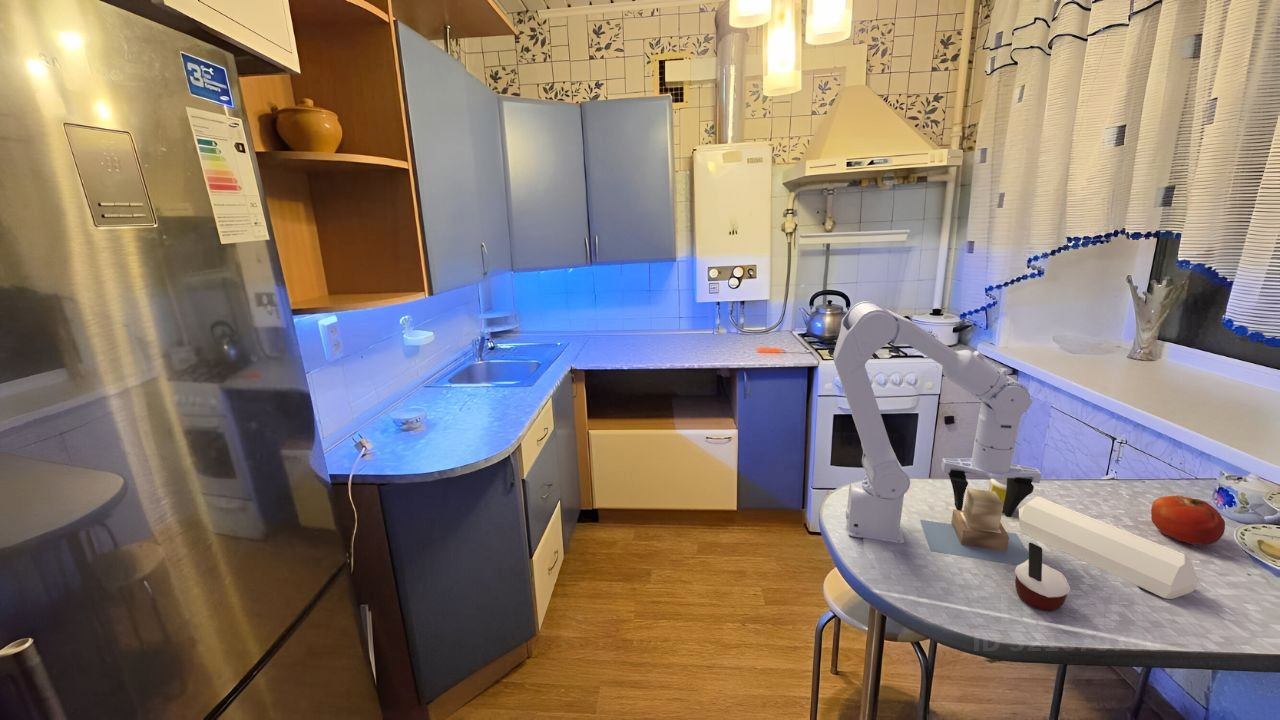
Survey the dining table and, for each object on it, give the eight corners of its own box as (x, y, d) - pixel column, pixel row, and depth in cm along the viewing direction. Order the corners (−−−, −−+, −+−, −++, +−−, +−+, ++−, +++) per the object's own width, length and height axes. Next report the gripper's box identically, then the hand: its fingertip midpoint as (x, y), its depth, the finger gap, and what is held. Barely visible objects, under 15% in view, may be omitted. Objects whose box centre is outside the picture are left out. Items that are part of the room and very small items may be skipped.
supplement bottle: (1018, 517, 98) (1026, 479, 96) (992, 515, 99) (999, 477, 97) (1006, 504, 102) (1013, 467, 100) (981, 502, 103) (987, 466, 101)
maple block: (969, 527, 90) (974, 500, 88) (963, 514, 94) (967, 488, 92) (998, 531, 88) (1003, 504, 87) (990, 517, 92) (995, 491, 91)
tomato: (1140, 516, 97) (1150, 480, 95) (1208, 531, 92) (1220, 493, 90) (1152, 542, 90) (1163, 503, 87) (1227, 559, 85) (1241, 519, 82)
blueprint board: (930, 553, 88) (930, 550, 88) (919, 521, 98) (919, 519, 97) (1037, 570, 83) (1038, 568, 83) (1015, 535, 92) (1016, 533, 92)
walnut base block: (960, 544, 90) (963, 529, 89) (951, 522, 96) (953, 508, 95) (1006, 551, 88) (1009, 536, 87) (993, 528, 94) (996, 514, 93)
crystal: (1212, 567, 78) (1035, 497, 98) (1204, 561, 74) (1022, 489, 94) (1192, 610, 78) (1019, 531, 98) (1183, 606, 74) (1005, 525, 94)
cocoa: (1043, 587, 80) (1058, 521, 77) (1081, 616, 74) (1099, 545, 71) (990, 592, 79) (1003, 524, 76) (1023, 621, 73) (1039, 549, 70)
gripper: (952, 447, 85) (941, 516, 89) (1054, 458, 81) (1038, 530, 84) (943, 431, 92) (933, 496, 95) (1036, 440, 87) (1023, 508, 91)
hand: (982, 510), depth 90 cm, fingers open, 7 cm apart
